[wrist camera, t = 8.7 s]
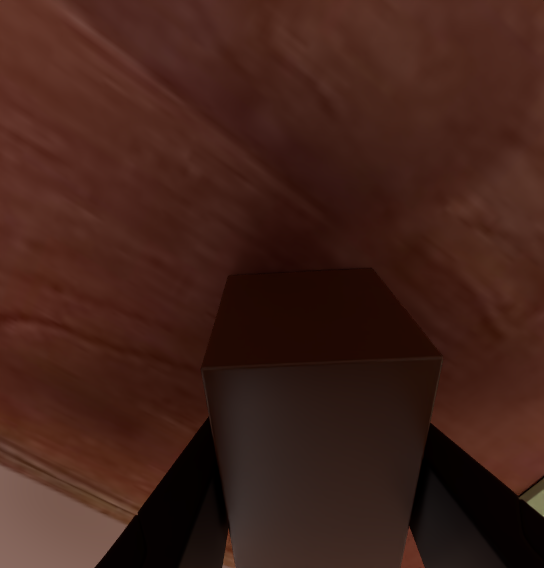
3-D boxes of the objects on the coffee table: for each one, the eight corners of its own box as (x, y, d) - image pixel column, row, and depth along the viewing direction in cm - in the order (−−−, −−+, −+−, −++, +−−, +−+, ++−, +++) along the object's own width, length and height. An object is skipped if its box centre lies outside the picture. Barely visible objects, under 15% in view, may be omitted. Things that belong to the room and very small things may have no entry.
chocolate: (357, 446, 12) (397, 584, 8) (248, 451, 12) (239, 590, 8) (372, 267, 9) (445, 356, 5) (227, 274, 9) (199, 368, 5)
